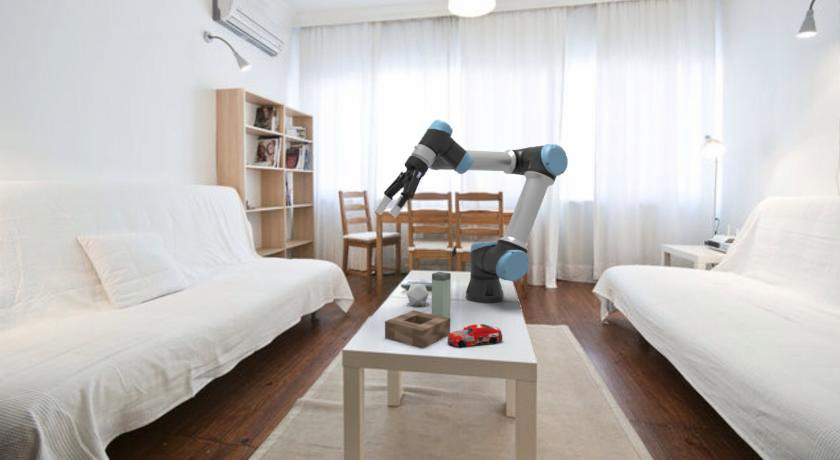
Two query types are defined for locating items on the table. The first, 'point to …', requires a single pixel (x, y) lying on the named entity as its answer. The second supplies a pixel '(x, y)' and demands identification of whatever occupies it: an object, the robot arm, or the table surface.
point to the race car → (475, 335)
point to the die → (417, 294)
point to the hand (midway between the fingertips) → (384, 214)
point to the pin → (441, 294)
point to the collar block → (417, 328)
